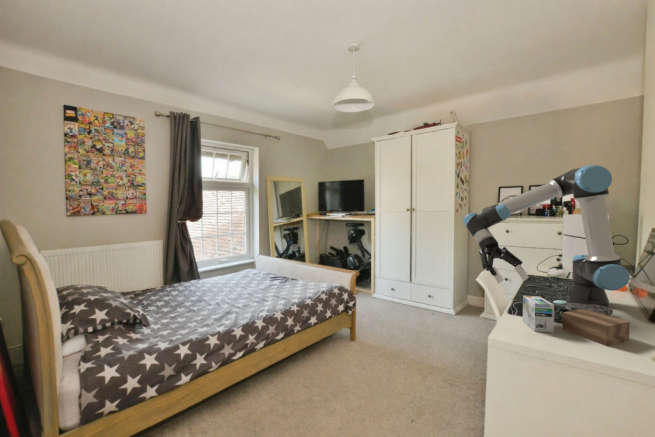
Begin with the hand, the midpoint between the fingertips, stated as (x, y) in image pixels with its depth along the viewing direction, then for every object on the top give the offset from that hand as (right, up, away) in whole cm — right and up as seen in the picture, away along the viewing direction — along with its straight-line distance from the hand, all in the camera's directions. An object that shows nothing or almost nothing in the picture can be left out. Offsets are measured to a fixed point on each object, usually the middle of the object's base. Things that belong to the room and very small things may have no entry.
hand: (513, 280), depth 126 cm
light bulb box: (+3, -16, -9) cm, 19 cm away
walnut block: (+18, -16, -17) cm, 30 cm away
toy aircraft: (+31, -16, +3) cm, 35 cm away
